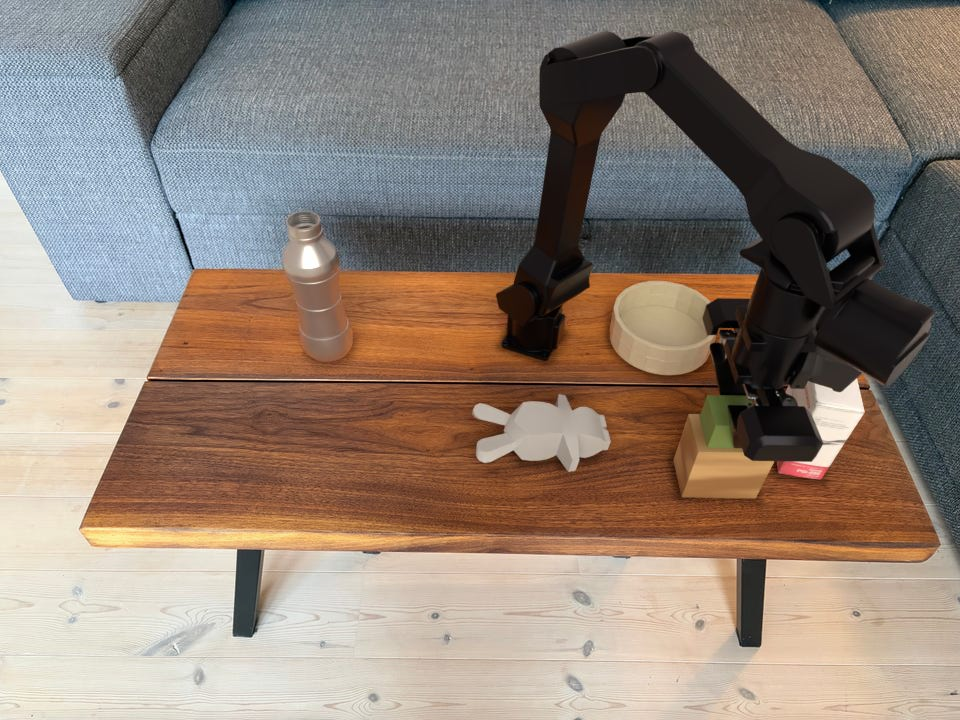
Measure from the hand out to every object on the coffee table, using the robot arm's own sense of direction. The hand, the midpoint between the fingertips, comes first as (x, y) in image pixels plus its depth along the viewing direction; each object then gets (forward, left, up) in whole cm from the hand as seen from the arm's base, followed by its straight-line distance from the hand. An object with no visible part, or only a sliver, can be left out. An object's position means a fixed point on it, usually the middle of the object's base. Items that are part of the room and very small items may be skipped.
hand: (733, 430), depth 73 cm
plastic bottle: (-49, -1, -9) cm, 50 cm away
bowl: (-11, +19, -8) cm, 24 cm away
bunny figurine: (-19, -4, -9) cm, 21 cm away
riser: (0, 0, -8) cm, 8 cm away
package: (0, 0, 0) cm, 0 cm away
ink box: (+8, +8, -9) cm, 14 cm away
